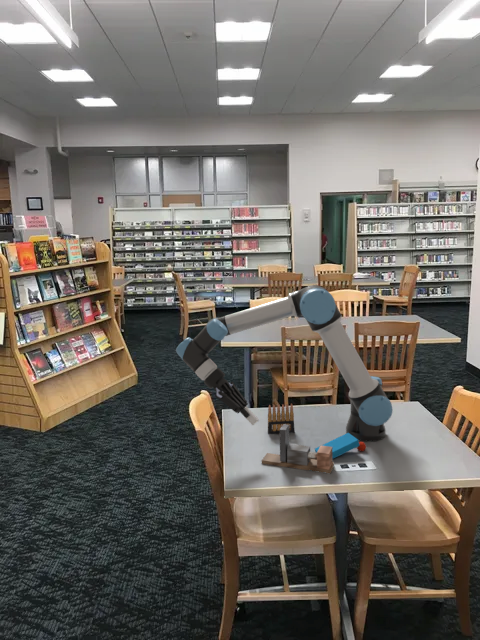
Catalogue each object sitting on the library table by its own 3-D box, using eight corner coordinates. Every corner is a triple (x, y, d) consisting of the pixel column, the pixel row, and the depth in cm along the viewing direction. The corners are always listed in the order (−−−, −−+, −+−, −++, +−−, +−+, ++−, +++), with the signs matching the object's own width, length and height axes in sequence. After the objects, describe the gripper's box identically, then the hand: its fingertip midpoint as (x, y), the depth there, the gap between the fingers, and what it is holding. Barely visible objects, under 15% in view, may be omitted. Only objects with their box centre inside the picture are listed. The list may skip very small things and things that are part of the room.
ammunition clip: (293, 431, 198) (293, 402, 196) (294, 432, 196) (294, 404, 194) (267, 432, 197) (266, 403, 195) (268, 434, 195) (267, 405, 193)
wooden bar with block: (261, 463, 171) (261, 445, 169) (267, 456, 176) (266, 438, 175) (330, 473, 162) (330, 454, 161) (333, 465, 167) (333, 446, 166)
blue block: (328, 473, 172) (371, 452, 176) (323, 456, 170) (367, 435, 174) (319, 465, 178) (361, 444, 182) (314, 448, 176) (356, 428, 181)
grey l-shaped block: (280, 461, 168) (279, 429, 166) (284, 454, 173) (283, 424, 171) (324, 467, 163) (324, 434, 161) (327, 461, 167) (327, 429, 165)
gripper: (211, 375, 184) (255, 422, 181) (196, 386, 172) (242, 435, 169) (223, 362, 181) (268, 409, 178) (209, 372, 169) (256, 422, 166)
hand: (255, 422), depth 174 cm, fingers closed
